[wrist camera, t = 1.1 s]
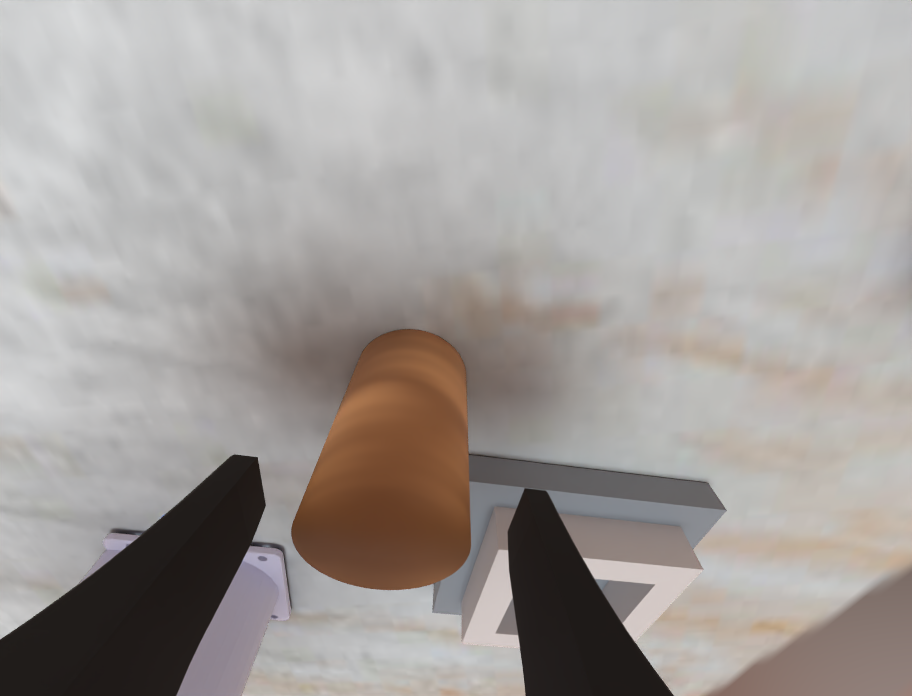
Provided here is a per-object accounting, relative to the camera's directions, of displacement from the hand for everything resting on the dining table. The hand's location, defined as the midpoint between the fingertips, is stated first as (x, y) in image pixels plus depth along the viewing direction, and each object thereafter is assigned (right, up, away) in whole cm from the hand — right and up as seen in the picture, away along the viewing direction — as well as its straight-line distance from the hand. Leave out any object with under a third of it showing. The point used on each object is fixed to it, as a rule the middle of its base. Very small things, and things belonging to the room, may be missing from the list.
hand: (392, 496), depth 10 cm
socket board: (+7, -7, +11) cm, 15 cm away
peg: (0, +3, +5) cm, 6 cm away
